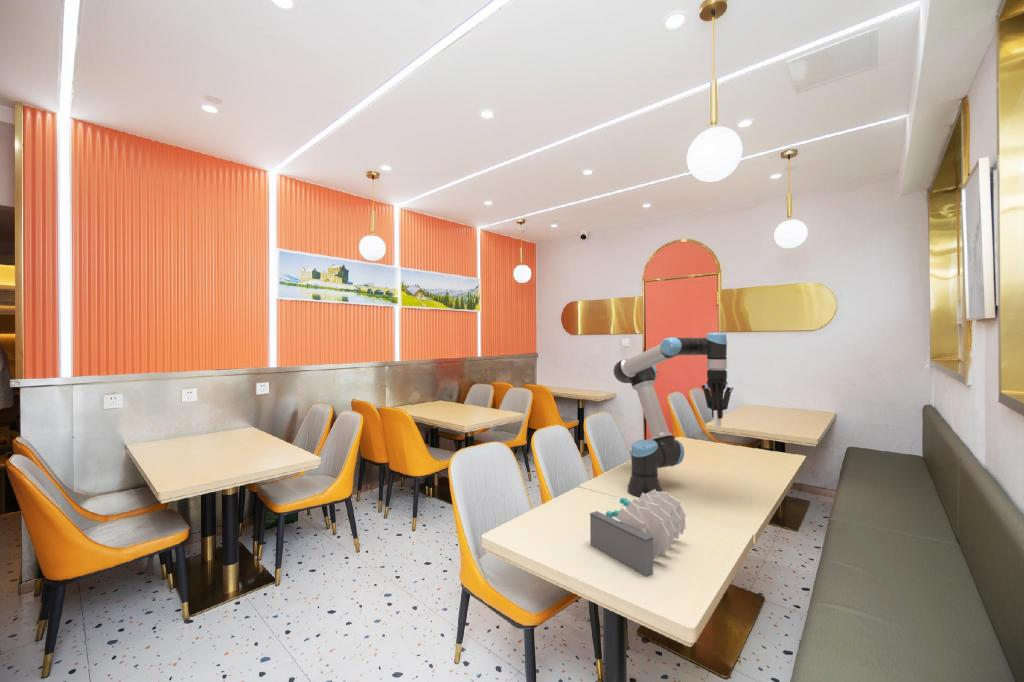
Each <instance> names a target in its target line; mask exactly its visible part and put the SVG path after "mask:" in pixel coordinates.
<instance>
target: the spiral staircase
mask: <svg viewBox="0 0 1024 682" xmlns="http://www.w3.org/2000/svg"><path fill="white" fill-rule="evenodd" d="M619 511H620V512H619V514H618V516H617V517H616V520H617V521H619V522H621V523H623V524H626V525H628V526H630V527H632V528H634V529H636V530H639V531H641V532H643V533H645V534H647V535H649V536H651V537H653V560H654V559H656V558H657V557H658V556H659V555H662V556H665V555H666V552H667V550H669V551H670V550H671V547H672V546H673V545H674V544H675V543H674V542H675V541H674V540H675V539H677V540H679V537H680V535H683V534H684V530H686V529H687V526H686V525H687V524H686V517H687V514H686V512H685V510H684V509H683V508H682V506H681V501H679V500H678V499H676V498H675V497H673V496H672V495H670V493H669V492H666V491H662V492H656V490H655V489H654V490H652V491H650V492H648V493H646V494H644V493H642V494H641V496H640V497H639V498H638V499H637V498H633V500H632V501H630V504H629V505H628V507H627V506H626V508H623V507H621V508H620V510H619Z"/></svg>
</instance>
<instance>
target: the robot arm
mask: <svg viewBox="0 0 1024 682" xmlns="http://www.w3.org/2000/svg"><path fill="white" fill-rule="evenodd" d="M727 348H728V341H727V335H726V333H725V332H708V333H707V334H706V337H676V336H674V337H671V336H670V337H666V338H664V339H663V340H662V341H661V343H660V344H658V345H656V346H654V347H651V348H649V349H647V350H645V351H643V352H641V353H638V354H636V355H634V356H633V357H631V358H629V357H625V358H623V359H621V360H619V361H617V362H616V363H615V365H614V366H613V375H614V378H615V379H616V381H619V382H620V383H623V384H631V388H632V389H633V390H635V391H636V393H637V396H638V399H639V402H640V405H641V408H642V411H643V415H644V417H645V420H646V421H645V422H646V423H647V427H648V430H649V433H650V436H651V437H650V439H641V440H636V441H634V442H633V443H632V444H631V450H630V454H631V455H630V457H631V459H630V460H631V464H630V465H631V474H630V478H629V481H628V484H627V493H629V494H630V495H633V496H635V497H639V498H640V496H641V494H642V493H644V494H646V493H648V492H650V491H652V490H654V489H655V490H656V492H663V491H662V490H663V489H662V487H661V483H660V480H659V476H658V475H659V473H658V472H659V469H662V468H666V467H667V468H668V467H674V466H678V465H680V464H681V463H682V462H683V460H684V457H685V448H684V446H683V443H682V442H680V441H679V440H677V439H675V435H674V433H671V432H670V431H669V428H668V425H667V422H666V419H665V416H664V413H663V410H662V408H661V404H660V401H659V398H658V396H657V392H656V389H655V384H656V379H657V374H658V371H657V367H656V365H658V364H660V363H663V362H666V361H668V360H670V359H672V358H675V357H677V356H706V369H707V371H706V378H707V381H706V383H705V384H702V385H701V389H702V391H703V393H704V397H705V398H704V399H705V401H706V402H705V403H706V407H707V408H708V409H710V410H711V417H712V418H713V427H717V428H718V427H722V419H723V417H724V415H723V411H726V410H728V408H729V403H730V399H731V393H732V392H733V390H734V387H732V386H730V385H729V384H728V381H727V379H728V371H727V369H728V360H727V354H728V353H727V350H728V349H727Z"/></svg>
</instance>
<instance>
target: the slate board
mask: <svg viewBox="0 0 1024 682" xmlns="http://www.w3.org/2000/svg"><path fill="white" fill-rule="evenodd" d="M589 516H590V517H589V518H590V521H589V522H590V528H589V529H590V531H589V532H590V544H589V545H590V546H592V547H594V548H595V549H597V550H599V551H601V552H602V553H604V554H606V555H608V556H609V557H610V558H613V559H615V560H616V561H618V562H620V563H622V564H623V565H625V566H626V567H628V568H630V569H632V570H634V571H636V572H638V573H639V574H641V575H643V576H644V577H649V576H651V575H653V574H654V559H653V537H651V536H649V535H647V534H645V533H643V532H641V531H639V530H636V529H634V528H632V527H630V526H628V525H626V524H623V523H621V522H620V520H618V519H615V518H613V517H612V518H611V517H608V516H606V514H603V513H602V512H600V511H594V512H593V511H592V512H589Z"/></svg>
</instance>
